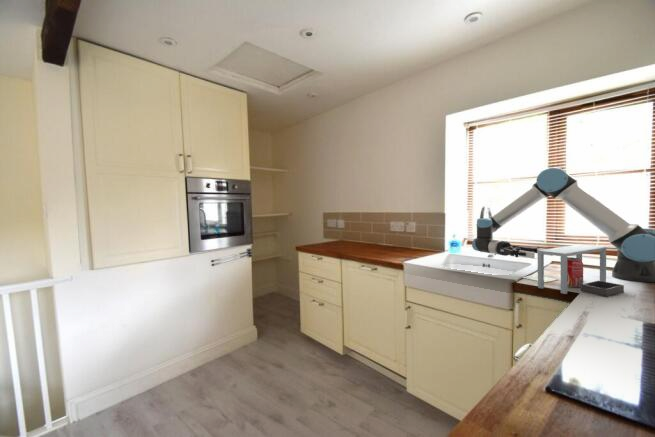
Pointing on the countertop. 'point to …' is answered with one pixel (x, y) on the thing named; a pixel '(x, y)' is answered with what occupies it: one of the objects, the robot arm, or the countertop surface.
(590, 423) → the countertop surface
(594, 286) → the tray
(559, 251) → the bridge
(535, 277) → the mat
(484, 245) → the robot arm
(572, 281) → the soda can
